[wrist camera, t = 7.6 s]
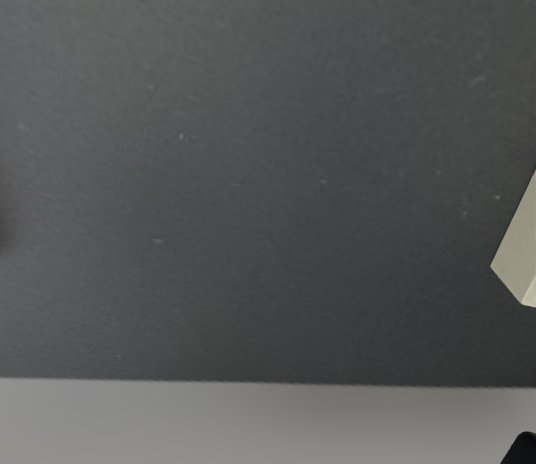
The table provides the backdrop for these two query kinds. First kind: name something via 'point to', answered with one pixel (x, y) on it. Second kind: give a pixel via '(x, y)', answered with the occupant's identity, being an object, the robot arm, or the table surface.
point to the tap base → (520, 250)
